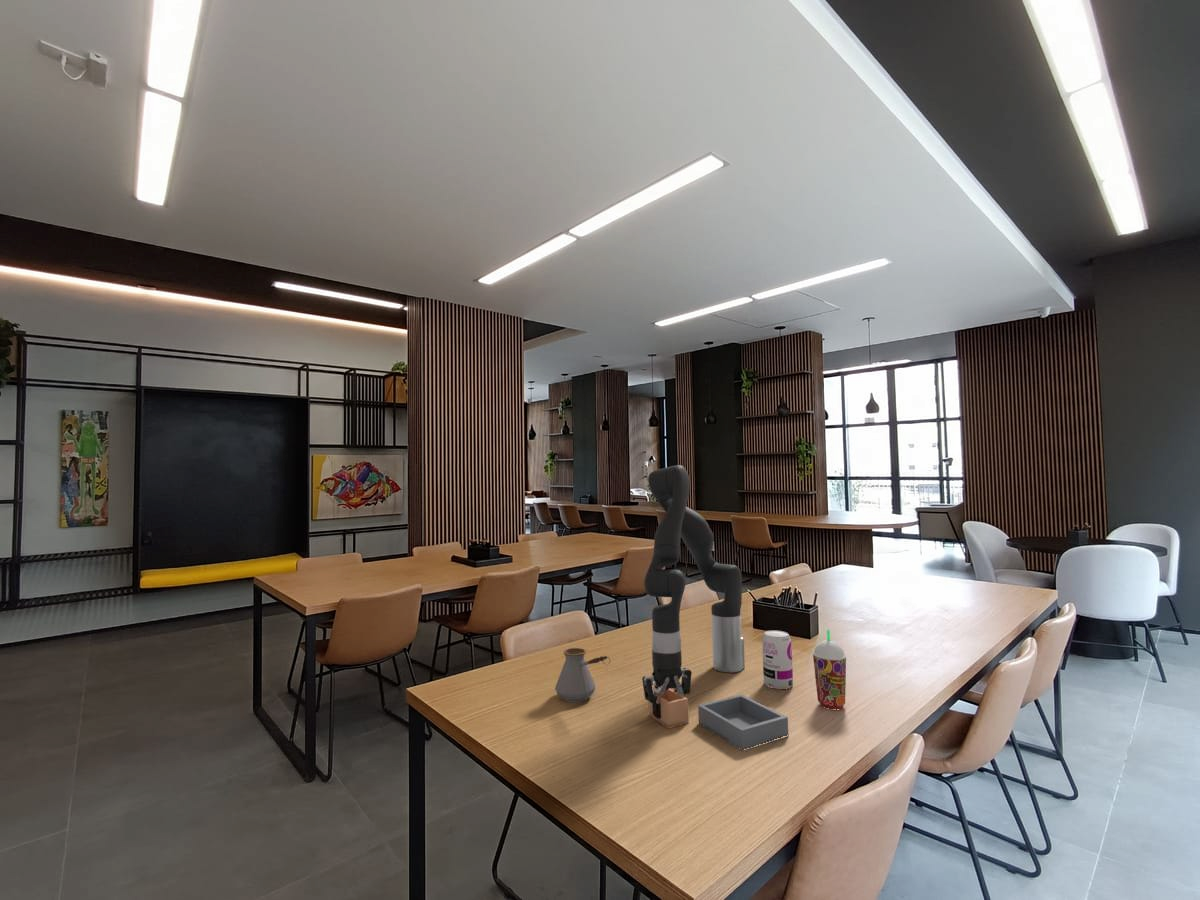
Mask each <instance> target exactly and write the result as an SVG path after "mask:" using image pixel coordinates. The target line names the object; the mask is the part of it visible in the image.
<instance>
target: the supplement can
mask: <svg viewBox="0 0 1200 900" xmlns="http://www.w3.org/2000/svg"><path fill="white" fill-rule="evenodd" d="M761 640H762V641H761V642H762V644H761V646H762V667H763V668H762V669H763V671H762V673H763V683H764V684H765V685H766V686H767V687H768V686H769V687H772V688H776V689H775V690H777V689H786V688H789V689H791V688H792V687H793V685H794V676H793V675H794V674H793V672H794V671H793V649H792V648H793V647H792V644H793V643H792V638H791V637H790V634H789V633H788V632H786V631H782V630H775V629H774V630H766V631H764V633H763V635H762V638H761ZM769 687H768V688H769ZM790 687H791V688H790ZM772 688H771V689H772ZM786 690H787V689H786Z"/></svg>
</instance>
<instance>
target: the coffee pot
mask: <svg viewBox="0 0 1200 900" xmlns="http://www.w3.org/2000/svg"><path fill="white" fill-rule="evenodd" d="M586 653H587V650H586V649H584V648H581V647H571V648H567V649H565V650H563V655H564V657H565V661H564V663H563V665H562V668H561V671H560V674H559V676H558V678H557V682H556V684H555V692H556V694H557V695H558V696H559V697H560V698H561V700H563V701H565V702H566V701H567V703H571V704H572V703H574V702H577V703H581V702H585V701H587V700H589V698H590V697H591V696H593V694H594V693H595V690H596V683H595V681H594V679H593V677H592V674H591V672H590V669H589V667H588V665H592V664H598V663H599V662H602V663H603V664H604V665H606V663H605V660H606V659H609V662H608V663H607V665H609V664H610V663H611V659H610V657H609V656H605V655H603V656H602V655H600V657H595V658H592V659H590V660H587V661H585V654H586Z"/></svg>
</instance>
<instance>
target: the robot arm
mask: <svg viewBox="0 0 1200 900" xmlns="http://www.w3.org/2000/svg"><path fill="white" fill-rule="evenodd" d="M647 482H648V486H649V489H650V492H651V494H652V496H653V497H654V499H655V501H656V502H657V503H658V505H660V506H661V508H662V509H663V511H664V512H665V514H664V515H663V517H662V518H661V520H660V522H659V523H658V526H657V528H656V530H655V533H654V540H653V541H654V542H653V543H654V544H653V553H652V557H651V561H650V564H649V566H648V569H647V571H646V573H645V576H644V577H645V578H644V579H643V580H644V582H643V587H644V590H645V592H646V594H647V595H648V596H649V597H654V598H655V597H656V598H671V601H670V602H669V603H666V604H660V605H657V606H655V607H653V609H652V612H651V619H652V620H651V621H652V623H651V625H652V626H651V627H652V630H651V631H652V633H651V661H652V663H651V664H652V669H653V670H652V673H651V675H649V676H645V675H644V676H642V678H641V679H642V681H641V682H642V686H643V692H644V693H643V694H644V700H646V701H648V703H649V702H651V703H652V710H653V711H652V713H653V715H654V716H655V717H656V718H658V719H659V718H661V704H660V701H661V698H662V695H664V693H665V690H668V689H669V688H670V689H672V690H674V691H675V692H677V693H678V694H681V695H682V696H684V697H686V695H690V693H691V686H692V685H691V683H692V673H693V672H692V670H691V669H688V668H686V667H683V668H681V667H682V663H683V661H682V660H683V659H682V638H681V629H680V628H681V625H680V623H681V622H680V611H681V605H682V600H683V596H684V593H685V589H686V577H685V575H684V572H682V571H681V570H679V569H665V567H668V566H669V567H670V566H672V565H675V564H676V565H677V563H678V562H679V561H680V558H681V557H680V556H681V554H680V553H681V539H682V541H683V543H684V544H685V546H686V547H687V549H688V551H689V553H690V554H691V556H692V558H693V560H694V562H695V564H696V566H697V568H698V570H699V572H700V574H701V576H702V580H703V581H704V583H705V585H706V587H707V588H708V589H709V590H710V591H712V592H716V593H723V594H724V598H723V600H722V601H718V602H715V603H713V604H711V607H710V608H711V609H710V610H711V612H710V613H711V641H712V667H713V669H714V670H715V671H718V672H722V673H729V674H730V673H738V672H741V671H742V670H743V669H745V668H746V666H745V659H746V658H745V639H744V637H742V623H741V621H742V619H741V608H742V603H743V601H742V600H743V597H742V596H743V595H742V592H743V576H742V571H741V569H740V568H739V567H738V566H737V565H734V564H727V563H719V562H717V561H716V560H715V558H714V557H713V554H712V550H713V546H714V542H715V538H714V534H713V531H712V530H711V528H710V526H709V523H708V522H707V520H706V519H705V518H704V516H702V515H701V514H700V513H698V512H697V511H695V510H694V509H691V507H690V508H689V506H687V504H688V499H689V495H690V484H691V483H690V476H689V474H688V471H687V470H686V468H685V467H684V466H683V465H680V464H677V465H671V466H668V467H664V468H660V469H656V470H653V471H651V472H649V475H648V477H647ZM680 680H681V682H680ZM659 689H660V690H659ZM656 696H657V697H656Z"/></svg>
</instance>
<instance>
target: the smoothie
mask: <svg viewBox="0 0 1200 900" xmlns="http://www.w3.org/2000/svg"><path fill="white" fill-rule="evenodd" d="M826 635H827V637H826V639H825V640H824V639H823V640H821V641H819V642H818V643H817V644H816V646H815V647H814V650H813V651H812V656H813V657H812V658H813V668H814V677H815V685H816V694H817V698H816V699H817V701H818V702H819V705H820V704H821V705H820V707H822V706H823V707H825V708H829V709H836V710H835V711H838V710H837V709H841V710H842V708H843V709H844V705H845V704H846V690H847V689H846V685H847V684H846V682H847V681H846V679H847V674H846V673H847V653H845V651H844V649H843V648H842V646H841V645H840V644H839V643H838V642H836V641H834V640H831V635H830V629H827V630H826ZM823 707H822V708H823ZM825 708H824V709H825Z"/></svg>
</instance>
